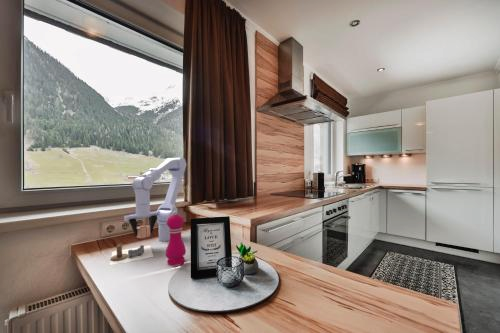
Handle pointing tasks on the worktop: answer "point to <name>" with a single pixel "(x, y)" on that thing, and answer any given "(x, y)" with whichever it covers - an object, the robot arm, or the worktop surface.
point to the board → (144, 255)
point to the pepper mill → (175, 241)
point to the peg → (119, 254)
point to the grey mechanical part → (136, 252)
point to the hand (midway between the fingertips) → (143, 234)
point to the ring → (143, 231)
